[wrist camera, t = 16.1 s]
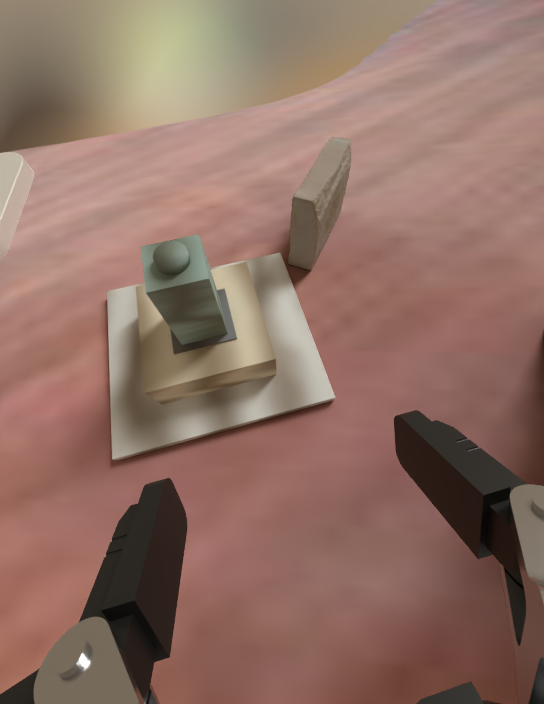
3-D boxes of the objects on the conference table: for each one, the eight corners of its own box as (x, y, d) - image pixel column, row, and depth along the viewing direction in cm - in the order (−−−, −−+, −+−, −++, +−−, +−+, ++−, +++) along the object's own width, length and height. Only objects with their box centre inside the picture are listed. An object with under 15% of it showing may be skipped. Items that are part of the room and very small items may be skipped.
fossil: (317, 205, 42) (327, 133, 33) (341, 212, 41) (357, 139, 33) (286, 264, 37) (288, 198, 29) (312, 272, 37) (322, 207, 28)
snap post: (219, 297, 29) (196, 225, 21) (227, 333, 27) (206, 270, 19) (176, 307, 29) (136, 238, 21) (181, 345, 27) (140, 285, 19)
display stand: (280, 258, 38) (280, 225, 33) (333, 400, 29) (343, 384, 25) (111, 296, 36) (86, 267, 31) (117, 460, 27) (84, 455, 23)
